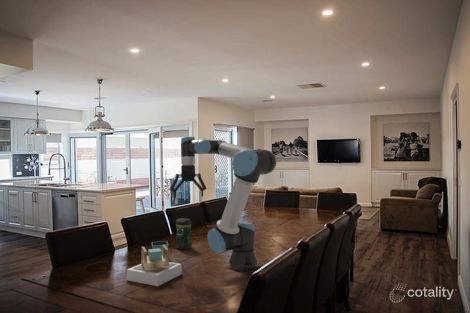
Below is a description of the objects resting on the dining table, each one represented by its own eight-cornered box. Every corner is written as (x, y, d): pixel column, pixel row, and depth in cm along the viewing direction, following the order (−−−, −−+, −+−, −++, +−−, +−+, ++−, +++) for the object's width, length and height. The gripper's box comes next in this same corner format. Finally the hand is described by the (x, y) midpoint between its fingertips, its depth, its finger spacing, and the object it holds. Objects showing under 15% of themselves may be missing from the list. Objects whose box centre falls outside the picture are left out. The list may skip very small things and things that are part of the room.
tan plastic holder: (164, 261, 177) (163, 244, 178) (169, 268, 166) (168, 249, 166) (141, 263, 173) (141, 246, 173) (144, 271, 162) (144, 252, 162)
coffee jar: (193, 247, 225) (193, 218, 225) (185, 250, 218) (185, 220, 218) (182, 245, 230) (181, 216, 230) (173, 248, 223) (173, 218, 223)
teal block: (159, 256, 173) (159, 248, 173) (161, 259, 168) (161, 251, 168) (148, 257, 171) (148, 249, 171) (150, 260, 166) (149, 252, 166)
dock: (181, 274, 174) (181, 263, 174) (157, 286, 158) (157, 274, 158) (152, 269, 182) (152, 258, 182) (126, 280, 166) (126, 268, 166)
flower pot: (152, 262, 194) (152, 245, 194) (151, 257, 203) (151, 242, 203) (168, 260, 197) (168, 244, 197) (167, 256, 205) (167, 240, 205)
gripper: (207, 164, 206) (207, 201, 205) (164, 165, 196) (164, 203, 195) (211, 164, 199) (212, 202, 199) (167, 165, 189) (167, 205, 189)
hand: (188, 203), depth 197 cm, fingers open, 13 cm apart
